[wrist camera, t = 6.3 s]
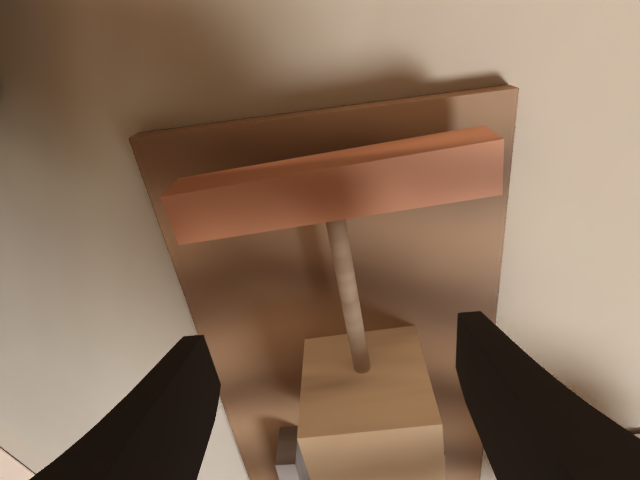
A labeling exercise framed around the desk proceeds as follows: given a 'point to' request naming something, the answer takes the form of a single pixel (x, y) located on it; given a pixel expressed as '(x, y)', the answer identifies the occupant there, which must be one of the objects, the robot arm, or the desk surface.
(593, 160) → the desk surface
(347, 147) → the lane board
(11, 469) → the gable box
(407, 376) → the block
